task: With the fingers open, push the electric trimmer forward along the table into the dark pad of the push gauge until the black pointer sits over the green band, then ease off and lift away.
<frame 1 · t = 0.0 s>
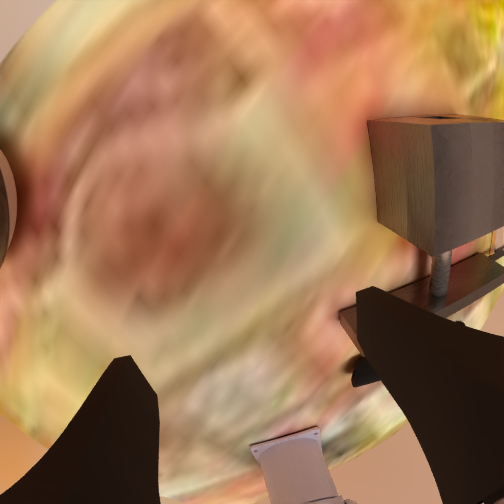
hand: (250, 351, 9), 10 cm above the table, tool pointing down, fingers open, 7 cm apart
gauge plunger: (458, 227, 18), point 2 cm above the table, slide at 0.0 cm
electric trimmer: (409, 346, 26), on the table
gauge frame: (422, 163, 18), on the table
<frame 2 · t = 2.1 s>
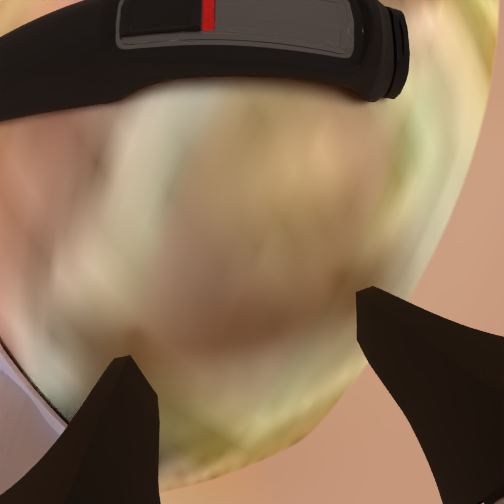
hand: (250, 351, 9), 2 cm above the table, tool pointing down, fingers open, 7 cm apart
electric trimmer: (161, 51, 7), on the table
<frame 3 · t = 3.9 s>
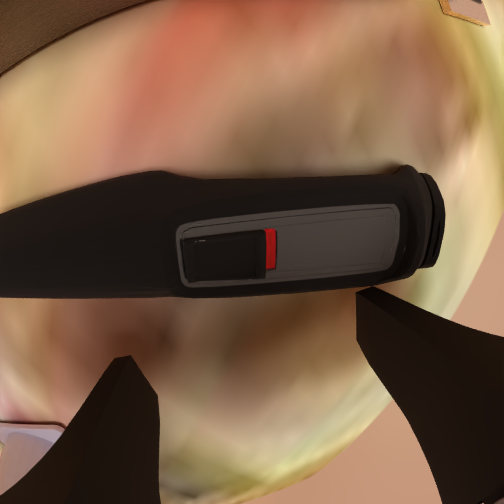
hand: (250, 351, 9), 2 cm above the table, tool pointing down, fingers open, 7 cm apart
electric trimmer: (208, 225, 9), on the table, touching gripper
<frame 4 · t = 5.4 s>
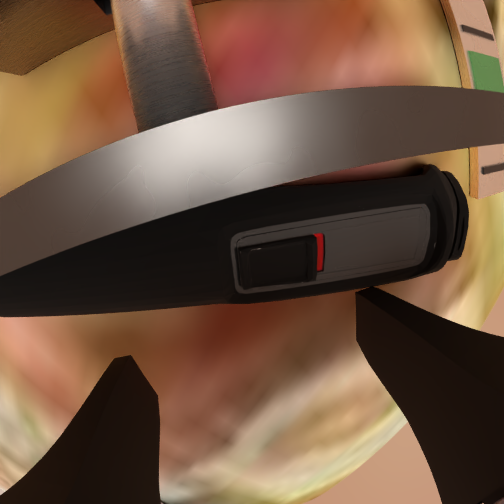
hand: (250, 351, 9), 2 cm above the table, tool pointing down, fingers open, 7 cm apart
electric trimmer: (247, 231, 9), on the table, touching gauge plunger
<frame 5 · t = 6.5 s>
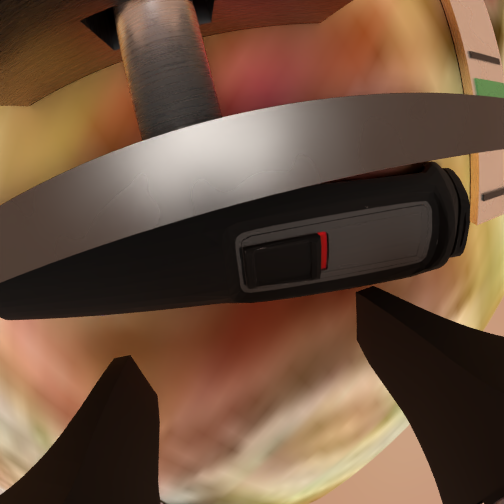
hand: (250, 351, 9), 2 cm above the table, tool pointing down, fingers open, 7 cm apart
electric trimmer: (251, 230, 9), on the table
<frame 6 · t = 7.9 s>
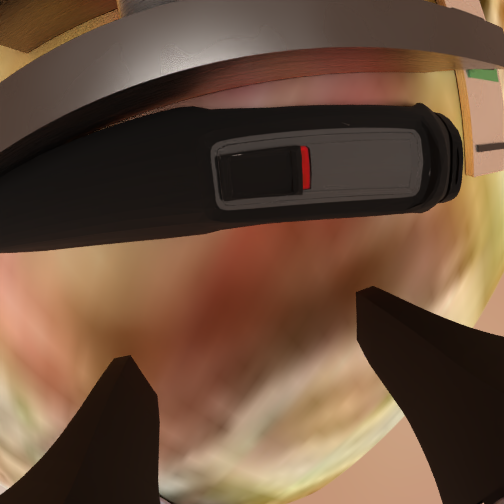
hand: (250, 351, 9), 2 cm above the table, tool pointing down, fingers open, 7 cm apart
electric trimmer: (234, 166, 9), on the table
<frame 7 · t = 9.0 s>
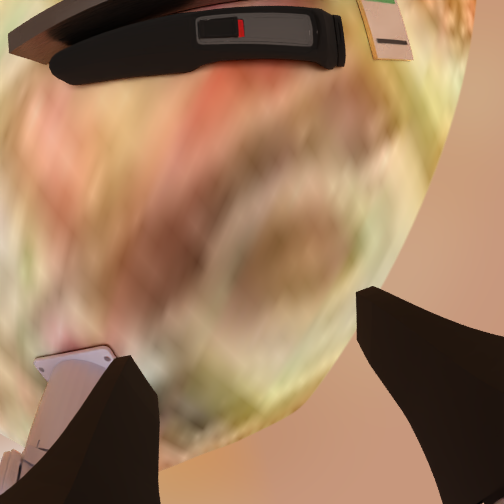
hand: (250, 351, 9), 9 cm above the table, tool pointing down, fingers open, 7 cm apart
electric trimmer: (210, 46, 13), on the table
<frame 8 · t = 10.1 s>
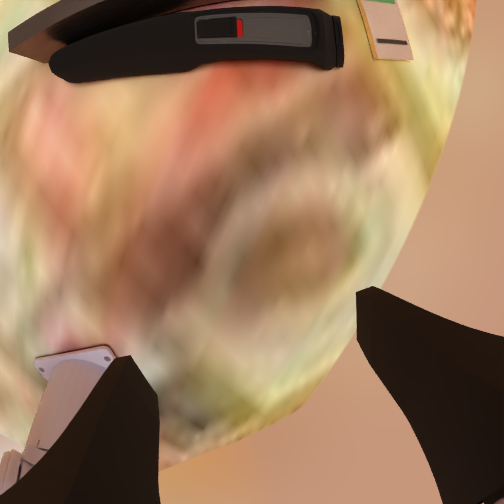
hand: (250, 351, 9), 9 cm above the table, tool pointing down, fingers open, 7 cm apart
electric trimmer: (209, 46, 13), on the table
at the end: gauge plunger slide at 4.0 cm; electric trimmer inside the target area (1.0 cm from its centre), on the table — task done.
